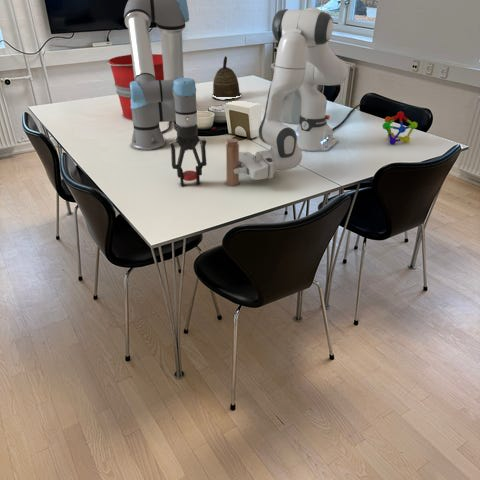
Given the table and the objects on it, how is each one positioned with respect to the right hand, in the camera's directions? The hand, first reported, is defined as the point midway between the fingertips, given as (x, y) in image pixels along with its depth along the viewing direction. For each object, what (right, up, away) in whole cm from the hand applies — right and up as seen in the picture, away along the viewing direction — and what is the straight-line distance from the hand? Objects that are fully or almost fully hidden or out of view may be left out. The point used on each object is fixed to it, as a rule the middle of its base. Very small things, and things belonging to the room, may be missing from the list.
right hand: (230, 168), depth 167 cm
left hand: (-16, -6, +3) cm, 17 cm away
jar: (+1, -5, +4) cm, 6 cm away
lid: (-16, -2, +1) cm, 16 cm away
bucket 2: (+34, +39, +75) cm, 91 cm away
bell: (-5, +63, +114) cm, 131 cm away
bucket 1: (-49, +44, +82) cm, 105 cm away
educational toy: (+78, +19, +43) cm, 91 cm away
